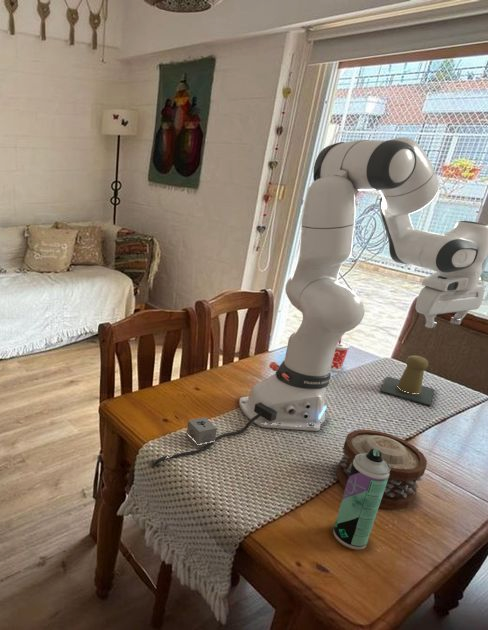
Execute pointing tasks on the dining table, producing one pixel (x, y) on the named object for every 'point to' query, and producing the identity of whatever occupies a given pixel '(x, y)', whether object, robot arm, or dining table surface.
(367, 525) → the spray can
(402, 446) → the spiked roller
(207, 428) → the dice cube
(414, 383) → the olive tapered cylinder
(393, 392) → the plate
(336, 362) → the beverage cup
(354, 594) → the dining table surface
